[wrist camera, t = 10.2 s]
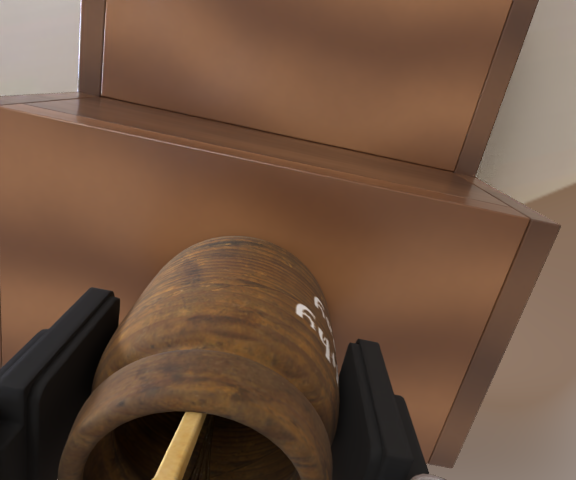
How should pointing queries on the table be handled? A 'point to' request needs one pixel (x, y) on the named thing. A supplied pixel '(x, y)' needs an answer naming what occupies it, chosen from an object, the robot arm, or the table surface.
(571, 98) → the table surface
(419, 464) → the robot arm
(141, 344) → the utensil holder
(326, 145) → the step shelf
